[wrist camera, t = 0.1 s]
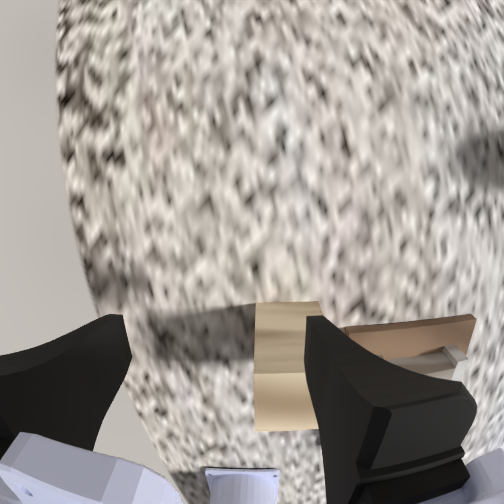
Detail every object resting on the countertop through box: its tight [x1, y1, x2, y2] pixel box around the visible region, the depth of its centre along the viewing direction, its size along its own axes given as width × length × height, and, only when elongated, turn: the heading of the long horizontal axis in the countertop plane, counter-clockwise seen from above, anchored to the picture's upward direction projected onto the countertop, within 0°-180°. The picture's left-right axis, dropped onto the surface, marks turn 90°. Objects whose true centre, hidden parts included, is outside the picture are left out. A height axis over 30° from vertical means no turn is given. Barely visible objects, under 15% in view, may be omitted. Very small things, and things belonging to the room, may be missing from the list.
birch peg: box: [254, 301, 323, 431], centre depth 19 cm, size 4×4×8 cm
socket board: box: [345, 314, 476, 382], centre depth 23 cm, size 14×12×4 cm
